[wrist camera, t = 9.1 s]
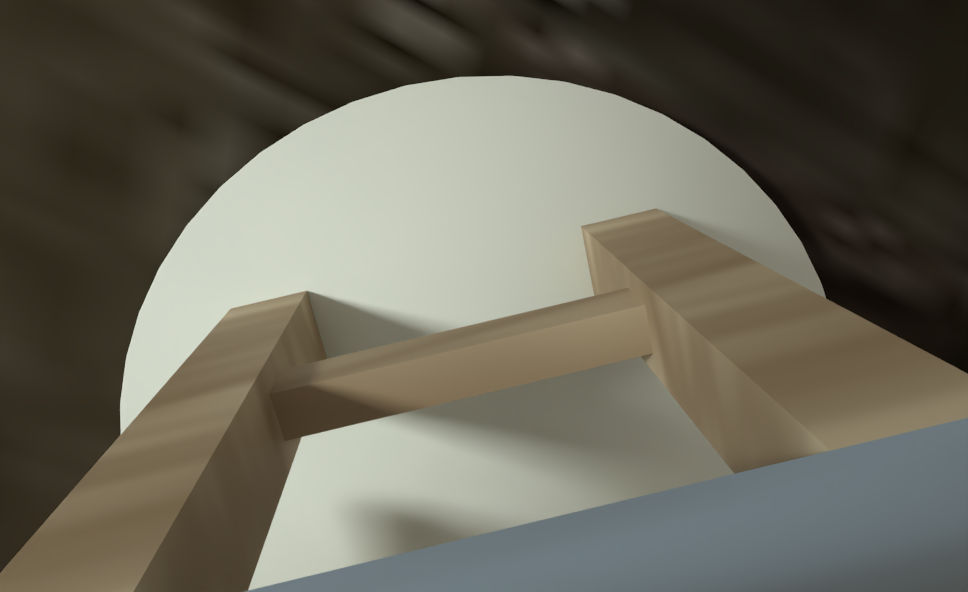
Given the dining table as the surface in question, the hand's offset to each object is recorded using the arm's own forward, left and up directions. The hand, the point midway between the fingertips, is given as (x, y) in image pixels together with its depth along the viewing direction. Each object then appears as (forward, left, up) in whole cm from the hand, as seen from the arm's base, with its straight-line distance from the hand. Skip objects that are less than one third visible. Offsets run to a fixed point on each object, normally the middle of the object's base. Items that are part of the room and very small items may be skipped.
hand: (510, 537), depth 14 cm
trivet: (0, 0, -4) cm, 4 cm away
